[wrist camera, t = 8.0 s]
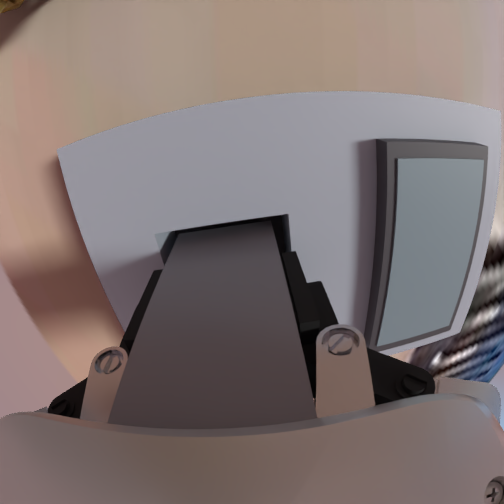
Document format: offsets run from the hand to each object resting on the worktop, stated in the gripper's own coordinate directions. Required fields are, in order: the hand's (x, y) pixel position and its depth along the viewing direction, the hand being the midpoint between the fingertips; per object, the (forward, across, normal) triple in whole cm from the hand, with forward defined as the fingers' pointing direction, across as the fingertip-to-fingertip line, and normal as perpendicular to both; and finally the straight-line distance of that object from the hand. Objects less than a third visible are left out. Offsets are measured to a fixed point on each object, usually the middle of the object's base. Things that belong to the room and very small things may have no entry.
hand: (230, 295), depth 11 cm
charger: (+2, 0, 0) cm, 2 cm away
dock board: (+4, -4, 0) cm, 6 cm away
